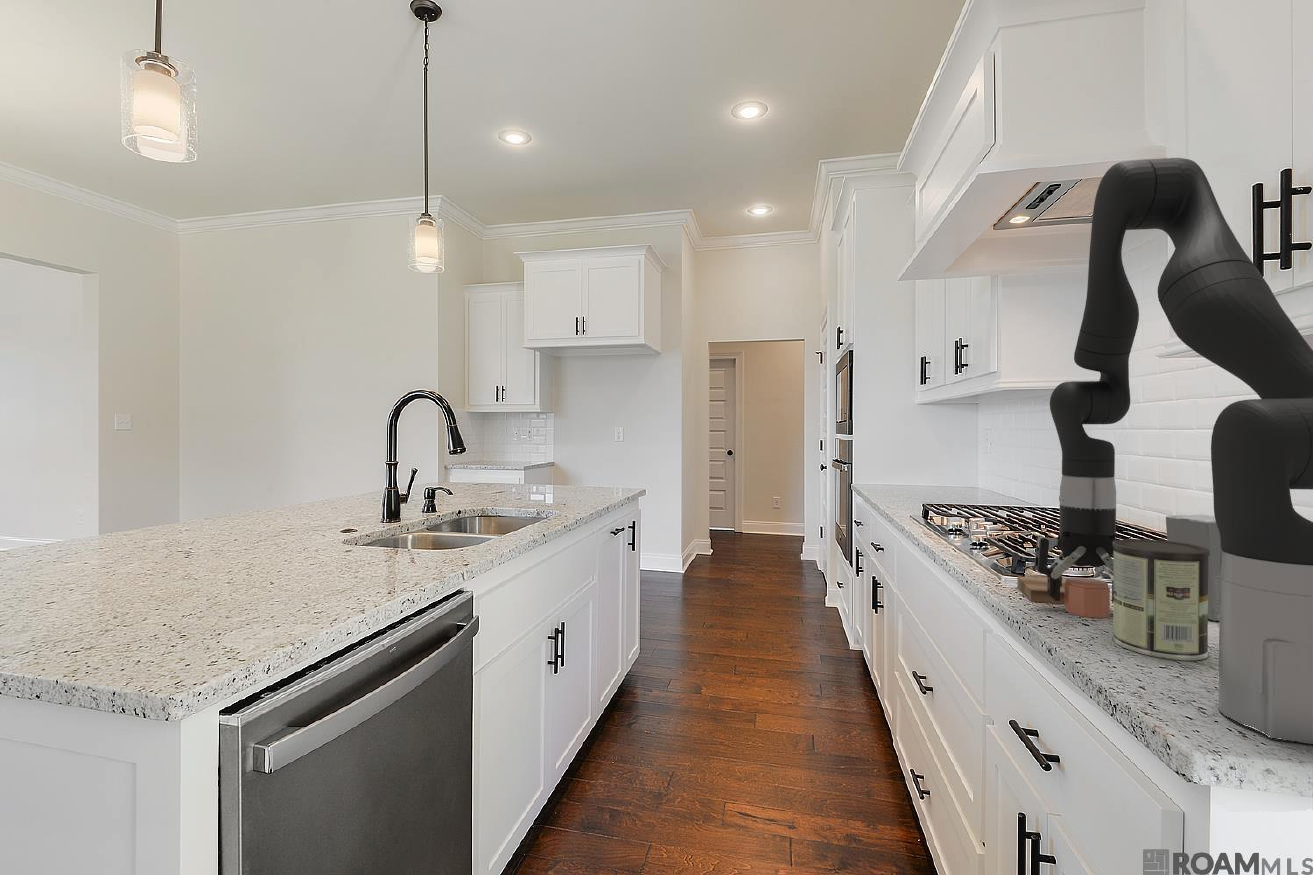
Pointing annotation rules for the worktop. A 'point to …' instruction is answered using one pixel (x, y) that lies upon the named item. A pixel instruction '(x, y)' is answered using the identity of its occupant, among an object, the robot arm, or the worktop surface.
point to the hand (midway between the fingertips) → (1086, 602)
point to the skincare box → (1204, 535)
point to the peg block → (1039, 589)
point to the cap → (1087, 597)
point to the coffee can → (1161, 598)
